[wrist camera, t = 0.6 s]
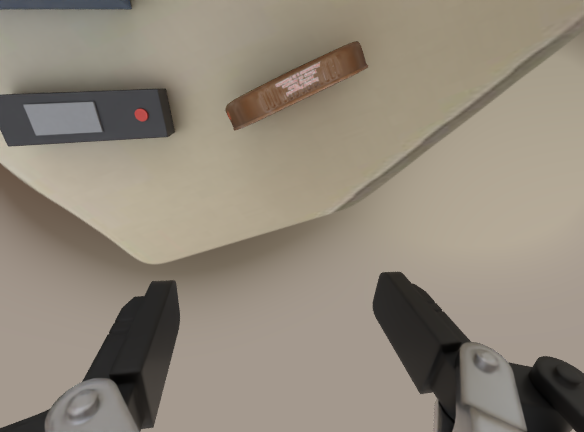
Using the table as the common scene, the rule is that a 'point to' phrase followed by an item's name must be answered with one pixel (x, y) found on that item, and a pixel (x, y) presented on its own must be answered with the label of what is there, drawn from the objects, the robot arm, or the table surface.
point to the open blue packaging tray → (65, 4)
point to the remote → (84, 116)
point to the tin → (296, 85)
